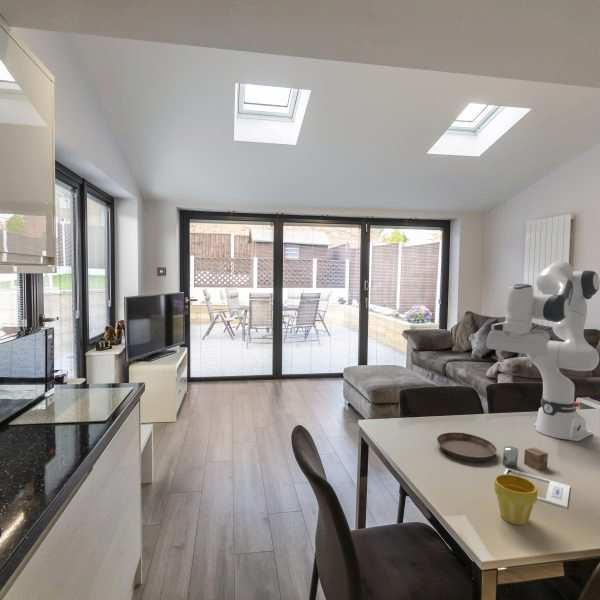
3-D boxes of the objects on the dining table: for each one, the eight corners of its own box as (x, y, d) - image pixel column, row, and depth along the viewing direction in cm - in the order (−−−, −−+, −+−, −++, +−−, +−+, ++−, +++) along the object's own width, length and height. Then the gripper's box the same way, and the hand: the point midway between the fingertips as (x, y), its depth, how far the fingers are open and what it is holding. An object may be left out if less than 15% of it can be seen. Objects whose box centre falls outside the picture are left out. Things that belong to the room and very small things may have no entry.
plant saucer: (506, 466, 139) (507, 457, 139) (446, 463, 140) (446, 454, 140) (482, 441, 160) (483, 433, 160) (430, 439, 161) (430, 431, 161)
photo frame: (567, 506, 114) (497, 484, 125) (566, 509, 114) (497, 488, 125) (570, 485, 126) (506, 467, 137) (569, 488, 126) (506, 470, 137)
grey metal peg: (508, 461, 143) (509, 445, 142) (519, 467, 139) (521, 450, 138) (499, 463, 141) (500, 447, 141) (510, 469, 137) (512, 452, 137)
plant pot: (484, 508, 113) (486, 475, 113) (515, 504, 116) (517, 471, 115) (511, 531, 103) (513, 495, 102) (545, 527, 105) (547, 491, 105)
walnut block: (533, 460, 144) (534, 447, 144) (547, 467, 139) (548, 453, 139) (524, 463, 142) (524, 449, 142) (537, 469, 137) (538, 455, 137)
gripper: (551, 330, 146) (548, 368, 146) (490, 324, 158) (487, 358, 159) (549, 331, 141) (545, 370, 141) (486, 324, 153) (483, 360, 154)
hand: (514, 364), depth 150 cm, fingers open, 8 cm apart
